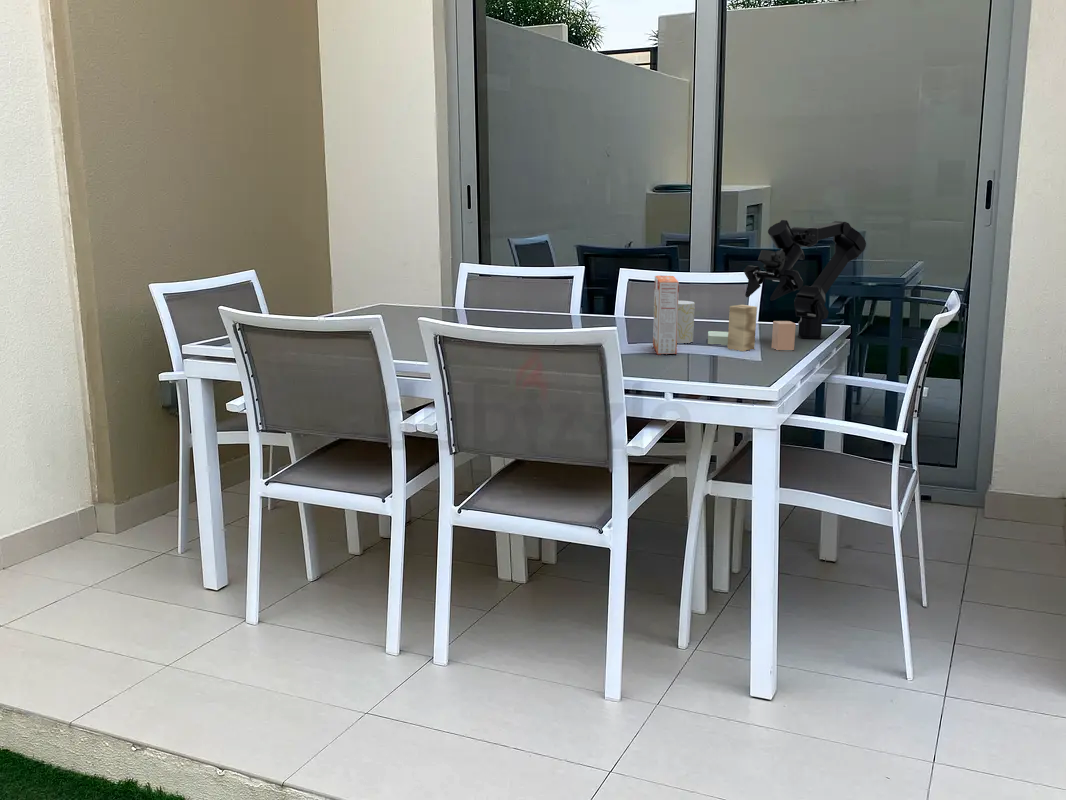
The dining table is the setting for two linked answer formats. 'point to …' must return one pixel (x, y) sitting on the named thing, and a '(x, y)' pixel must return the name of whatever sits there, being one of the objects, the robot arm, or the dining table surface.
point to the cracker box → (665, 314)
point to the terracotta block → (783, 335)
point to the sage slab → (717, 337)
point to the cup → (685, 321)
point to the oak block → (742, 327)
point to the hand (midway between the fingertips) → (758, 298)
